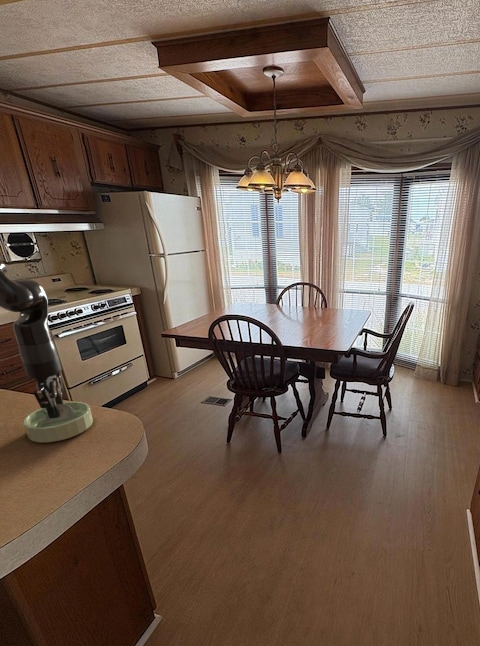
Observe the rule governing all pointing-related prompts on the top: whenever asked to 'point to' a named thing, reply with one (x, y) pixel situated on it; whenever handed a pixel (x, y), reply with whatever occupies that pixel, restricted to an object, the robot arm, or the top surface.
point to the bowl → (58, 424)
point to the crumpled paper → (64, 414)
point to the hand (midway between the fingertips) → (57, 412)
